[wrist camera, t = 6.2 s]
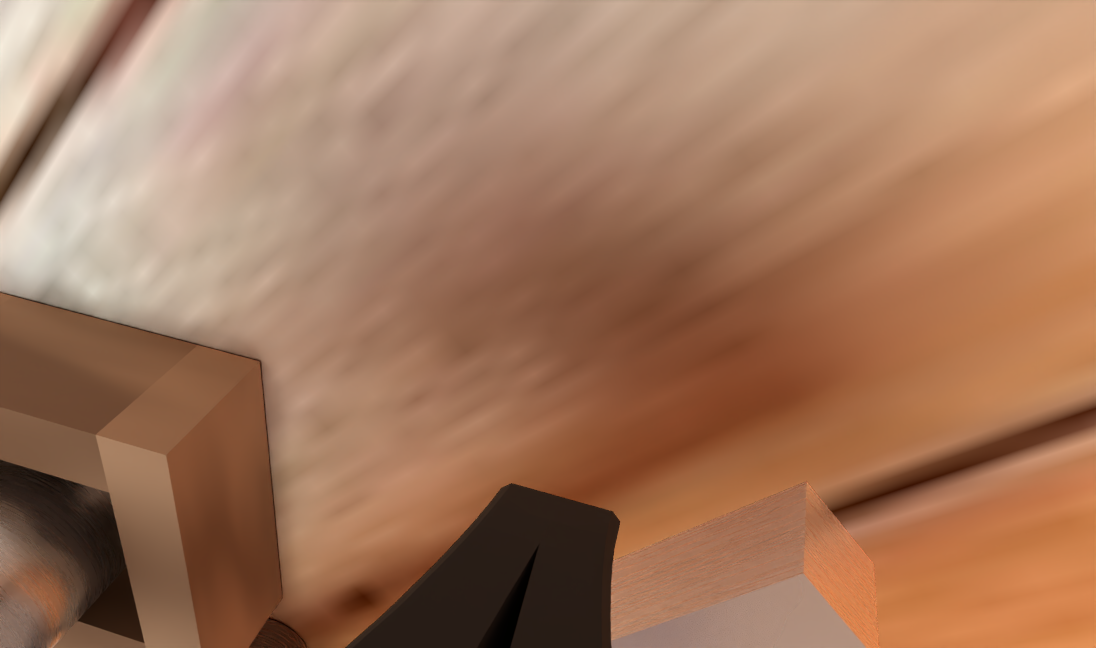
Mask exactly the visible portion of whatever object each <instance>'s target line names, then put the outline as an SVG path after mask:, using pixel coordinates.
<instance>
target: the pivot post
mask: <svg viewBox="0 0 1096 648" xmlns="http://www.w3.org/2000/svg"><path fill="white" fill-rule="evenodd" d="M248 648H307V647H306V645H305V643H304V642H303V640H302V639H301V638H300V637H299V636H298V635H297V634H296V633H295V632H294V631H293V630H291V629H290V628H288V627H287V626H285V625H283V624H281V623H279V622H277V621H274V620H270V619H267V621H266V622H265V624H264V625H263V627H262V628H261V630H260V631H259V633H258V634H257V636H256V637H255V639H254V640H253V642H252V643H251V644H250V646H249V647H248Z"/></svg>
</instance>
